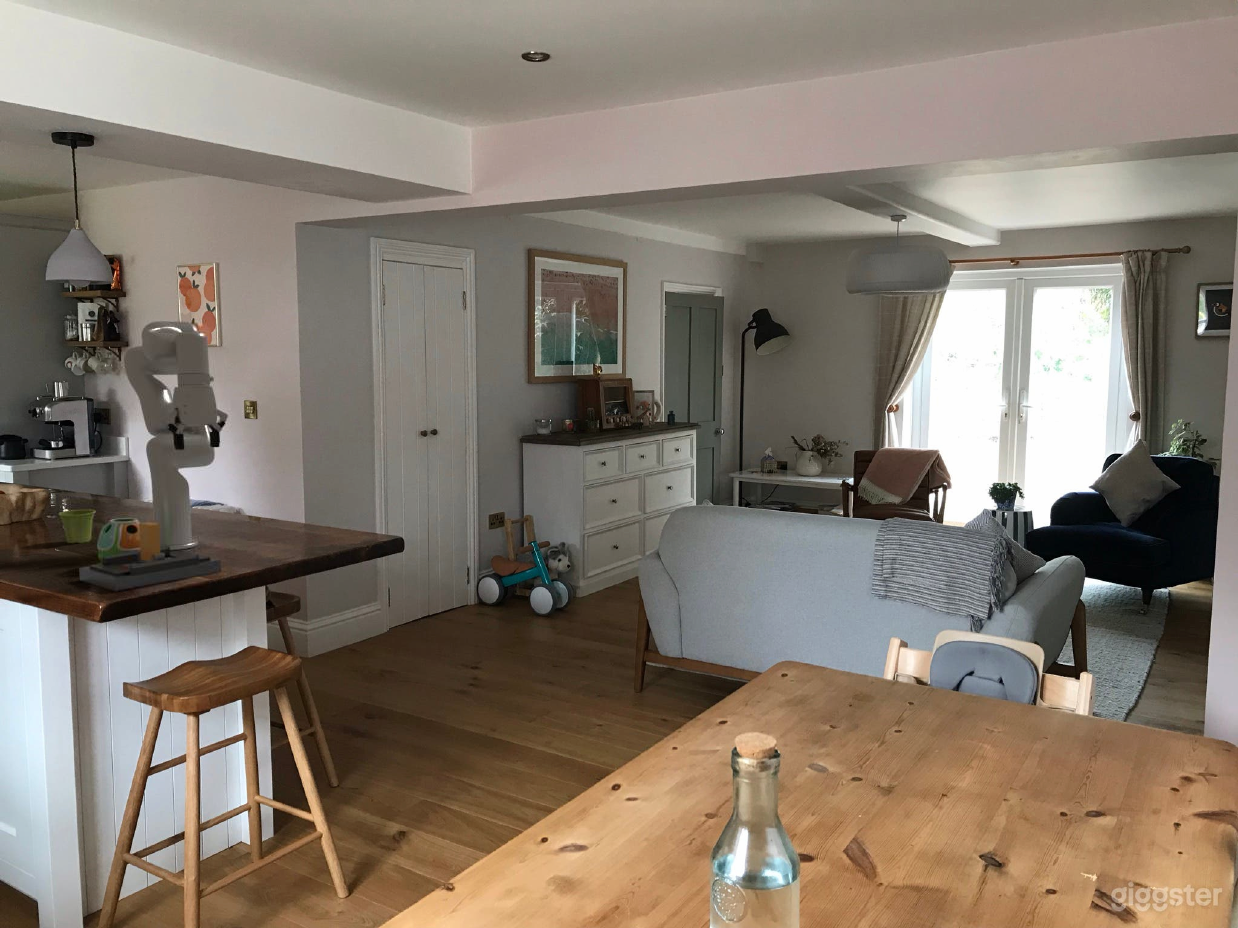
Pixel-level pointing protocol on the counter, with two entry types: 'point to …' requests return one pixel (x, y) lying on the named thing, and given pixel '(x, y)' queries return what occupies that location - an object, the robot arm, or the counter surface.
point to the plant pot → (77, 525)
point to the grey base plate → (121, 579)
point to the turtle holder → (119, 537)
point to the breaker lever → (149, 540)
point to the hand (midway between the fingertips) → (197, 448)
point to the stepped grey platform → (151, 566)
